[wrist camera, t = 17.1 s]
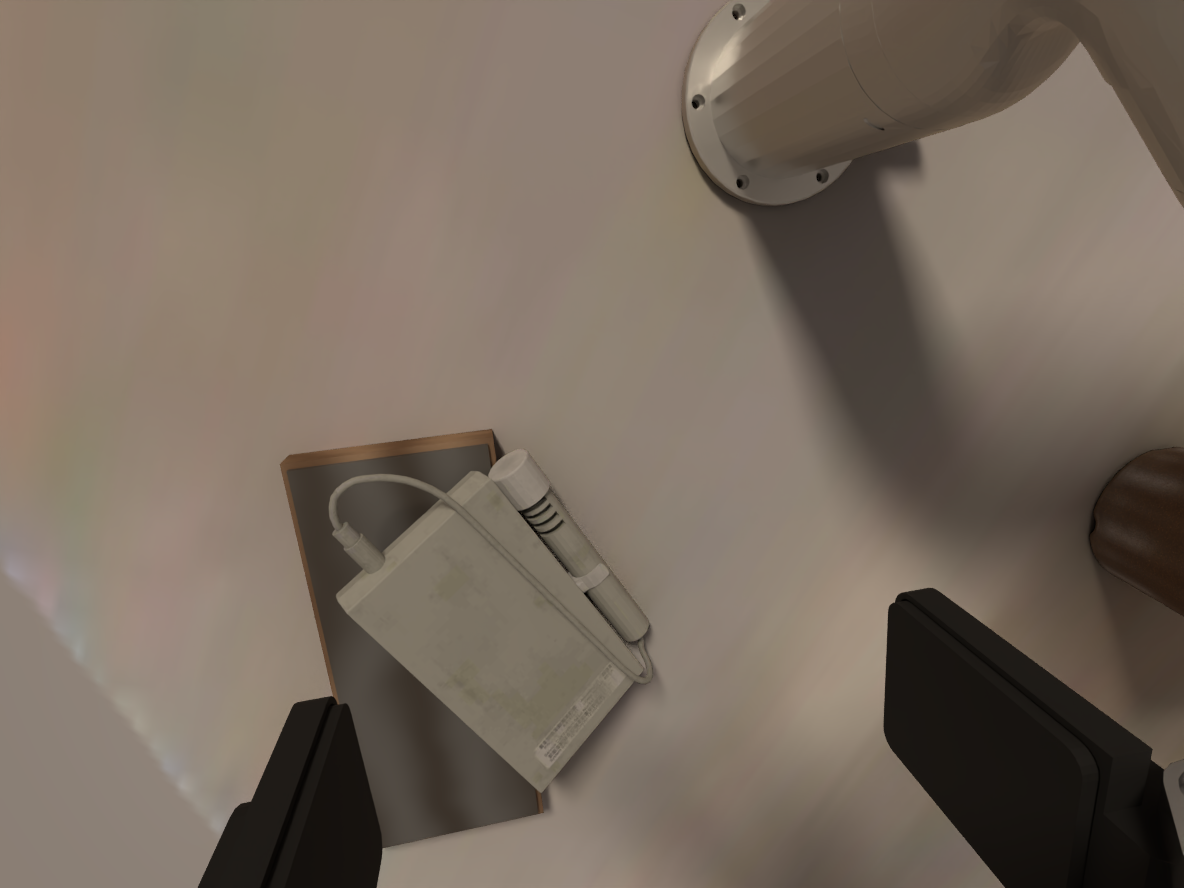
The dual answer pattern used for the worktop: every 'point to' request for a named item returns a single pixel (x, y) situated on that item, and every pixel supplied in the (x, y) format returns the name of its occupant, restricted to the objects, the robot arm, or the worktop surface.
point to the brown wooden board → (368, 671)
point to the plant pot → (1145, 526)
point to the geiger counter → (500, 612)
